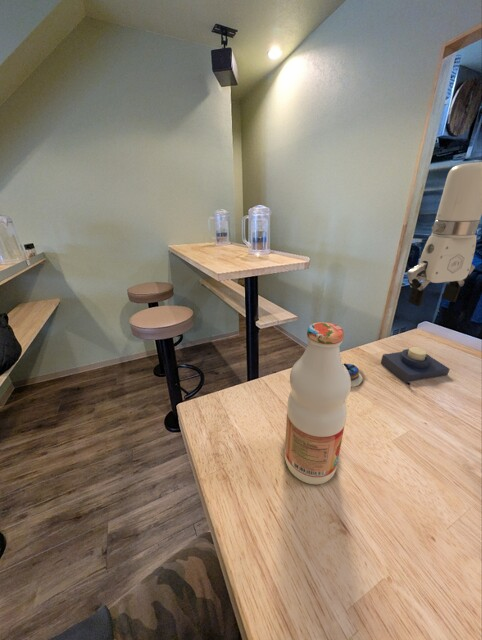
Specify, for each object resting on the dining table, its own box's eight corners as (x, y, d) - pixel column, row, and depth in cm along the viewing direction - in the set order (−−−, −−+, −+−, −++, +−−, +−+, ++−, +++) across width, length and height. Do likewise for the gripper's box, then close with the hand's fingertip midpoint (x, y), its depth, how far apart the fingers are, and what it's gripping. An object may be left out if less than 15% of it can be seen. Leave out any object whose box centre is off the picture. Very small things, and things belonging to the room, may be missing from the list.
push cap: (416, 352, 71) (418, 345, 70) (428, 360, 67) (430, 353, 66) (403, 354, 70) (405, 347, 69) (415, 362, 67) (417, 355, 66)
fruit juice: (277, 445, 51) (282, 319, 39) (320, 435, 52) (337, 312, 40) (296, 492, 42) (309, 351, 30) (346, 479, 44) (378, 340, 32)
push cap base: (416, 358, 76) (420, 343, 74) (446, 378, 67) (452, 363, 65) (380, 363, 74) (383, 349, 72) (406, 385, 65) (411, 369, 63)
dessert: (347, 364, 73) (357, 356, 68) (359, 385, 70) (372, 379, 65) (324, 372, 71) (333, 365, 66) (336, 395, 68) (347, 389, 63)
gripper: (434, 233, 50) (413, 311, 57) (505, 228, 53) (476, 304, 60) (405, 229, 57) (389, 300, 64) (469, 225, 60) (447, 294, 67)
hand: (431, 302), depth 62 cm, fingers open, 9 cm apart
